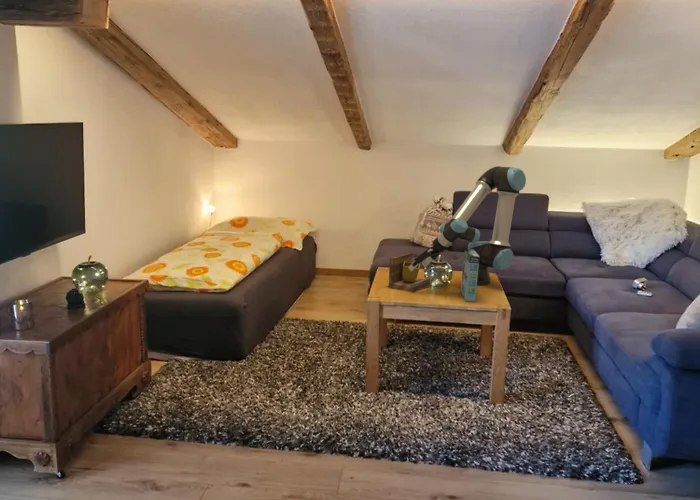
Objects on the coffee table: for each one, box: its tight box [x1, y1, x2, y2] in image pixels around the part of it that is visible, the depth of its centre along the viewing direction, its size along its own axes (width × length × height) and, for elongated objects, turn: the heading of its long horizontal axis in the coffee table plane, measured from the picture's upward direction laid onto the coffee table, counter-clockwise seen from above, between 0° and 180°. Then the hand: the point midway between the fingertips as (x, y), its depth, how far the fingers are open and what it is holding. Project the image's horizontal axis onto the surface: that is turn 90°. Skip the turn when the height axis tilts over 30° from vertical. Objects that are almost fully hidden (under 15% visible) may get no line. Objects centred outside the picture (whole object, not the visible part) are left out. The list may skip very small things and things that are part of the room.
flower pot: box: [402, 261, 421, 282], centre depth 328 cm, size 9×9×9 cm
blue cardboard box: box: [460, 248, 480, 302], centre depth 309 cm, size 20×5×23 cm, turn 177°
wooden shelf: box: [388, 252, 430, 293], centre depth 328 cm, size 15×20×16 cm
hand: (416, 267), depth 325 cm, fingers open, 13 cm apart
